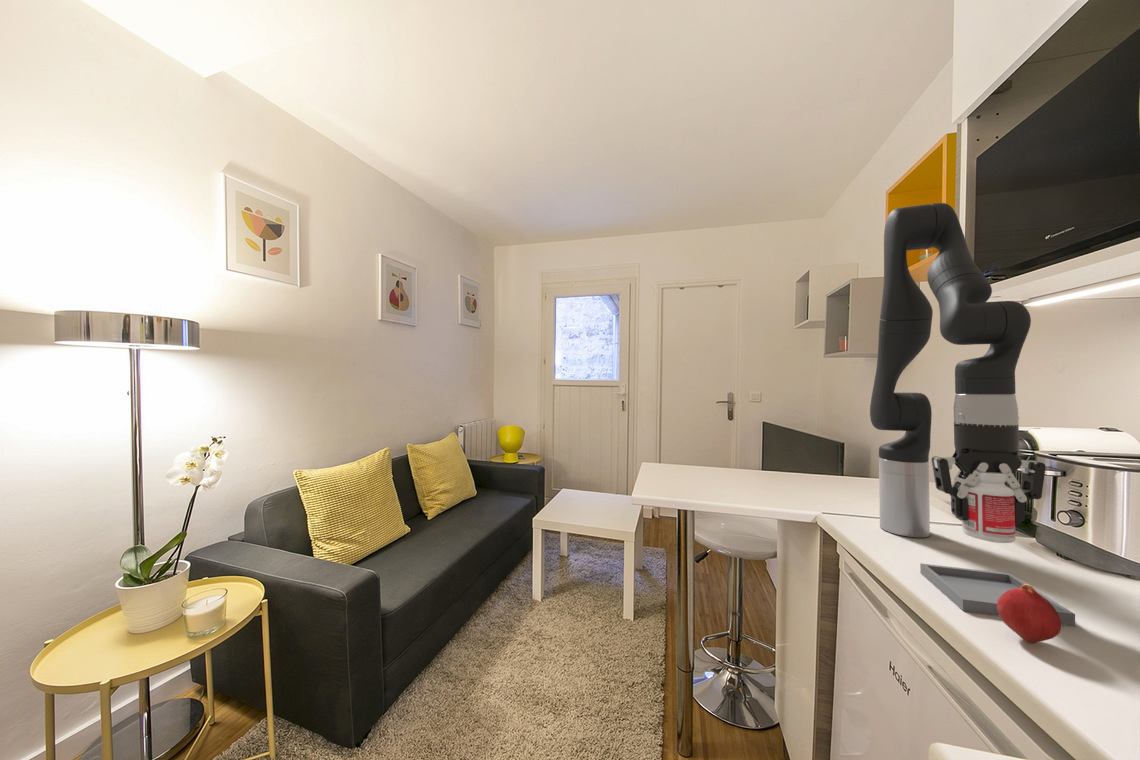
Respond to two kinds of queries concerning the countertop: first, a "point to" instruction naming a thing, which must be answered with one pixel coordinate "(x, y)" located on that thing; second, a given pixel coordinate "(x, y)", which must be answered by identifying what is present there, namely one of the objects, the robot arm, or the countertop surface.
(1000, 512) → the pill bottle
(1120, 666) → the countertop surface
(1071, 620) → the slate dish
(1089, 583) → the countertop surface
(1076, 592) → the countertop surface
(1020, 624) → the onion
